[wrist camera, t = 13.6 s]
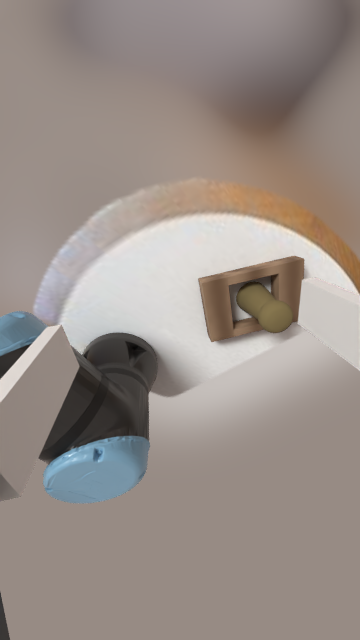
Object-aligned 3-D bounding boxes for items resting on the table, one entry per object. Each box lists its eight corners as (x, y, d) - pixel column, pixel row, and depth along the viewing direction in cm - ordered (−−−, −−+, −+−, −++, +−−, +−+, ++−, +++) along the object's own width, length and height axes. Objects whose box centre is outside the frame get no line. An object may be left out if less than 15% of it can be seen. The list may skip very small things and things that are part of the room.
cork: (267, 306, 45) (300, 332, 35) (238, 314, 45) (263, 343, 35) (265, 277, 42) (300, 297, 32) (234, 286, 42) (259, 309, 32)
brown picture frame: (208, 334, 46) (211, 342, 43) (198, 278, 41) (201, 283, 38) (292, 313, 46) (301, 320, 44) (294, 255, 41) (304, 258, 38)
